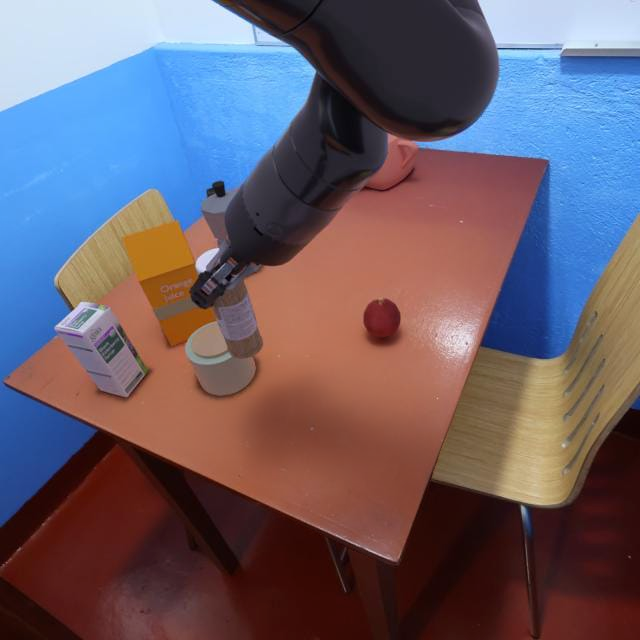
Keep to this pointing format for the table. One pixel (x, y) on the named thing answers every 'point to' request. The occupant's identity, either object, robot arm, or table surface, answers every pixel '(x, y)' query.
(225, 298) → the sprinkles bottle
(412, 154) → the pot
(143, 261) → the orange juice
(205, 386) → the pale green cylinder
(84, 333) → the syrup box
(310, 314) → the table surface
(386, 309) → the onion
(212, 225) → the coffee maker
